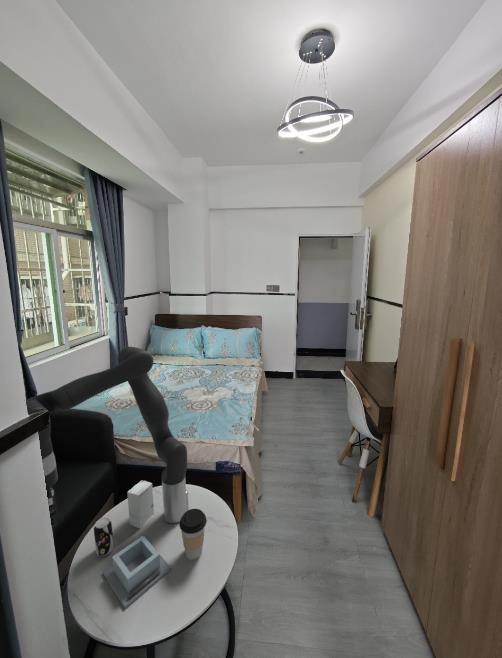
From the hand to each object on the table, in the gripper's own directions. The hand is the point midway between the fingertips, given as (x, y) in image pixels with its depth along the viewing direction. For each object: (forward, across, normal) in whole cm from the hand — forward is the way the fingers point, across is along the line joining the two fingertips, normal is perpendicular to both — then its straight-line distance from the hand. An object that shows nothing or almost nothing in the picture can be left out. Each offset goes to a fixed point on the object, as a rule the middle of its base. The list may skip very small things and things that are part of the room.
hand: (48, 518), depth 85 cm
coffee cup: (+29, -20, -36) cm, 51 cm away
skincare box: (+29, +8, -32) cm, 44 cm away
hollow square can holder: (+29, -11, -20) cm, 36 cm away
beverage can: (+29, +5, -16) cm, 33 cm away
